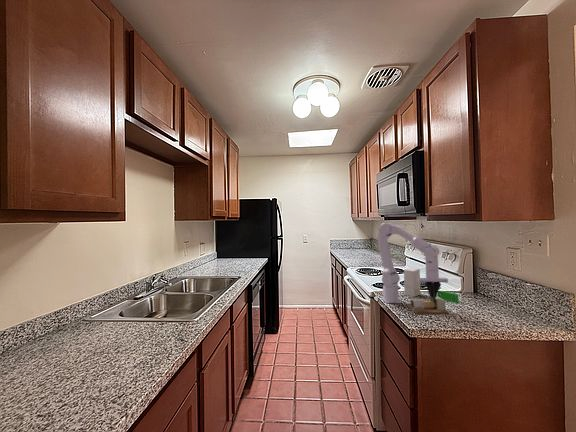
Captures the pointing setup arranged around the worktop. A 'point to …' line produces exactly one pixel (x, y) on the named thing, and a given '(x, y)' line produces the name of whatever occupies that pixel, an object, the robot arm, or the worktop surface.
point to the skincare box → (411, 282)
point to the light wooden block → (431, 302)
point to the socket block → (440, 303)
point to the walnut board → (427, 310)
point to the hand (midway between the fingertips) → (432, 296)
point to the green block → (448, 296)
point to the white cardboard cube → (417, 303)
